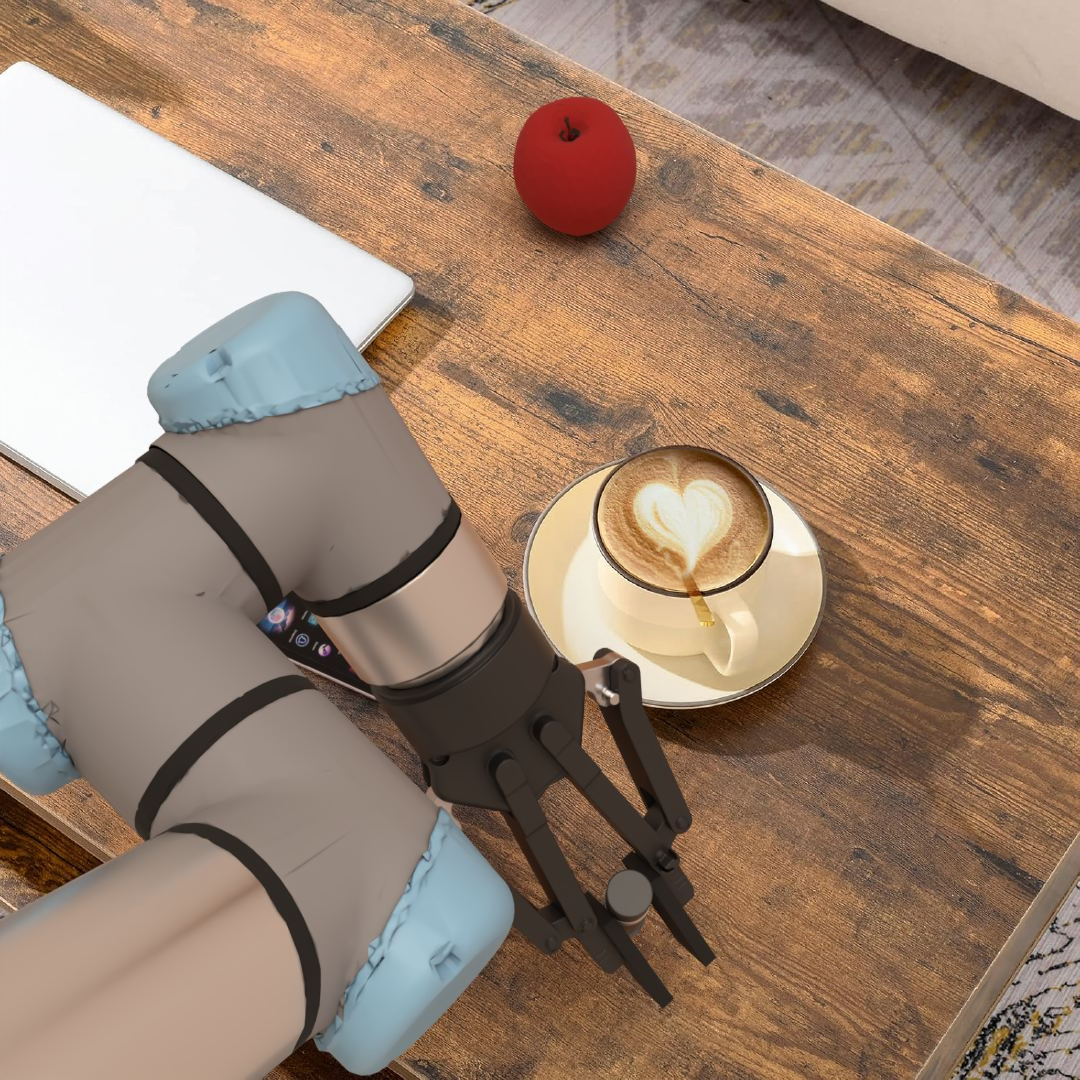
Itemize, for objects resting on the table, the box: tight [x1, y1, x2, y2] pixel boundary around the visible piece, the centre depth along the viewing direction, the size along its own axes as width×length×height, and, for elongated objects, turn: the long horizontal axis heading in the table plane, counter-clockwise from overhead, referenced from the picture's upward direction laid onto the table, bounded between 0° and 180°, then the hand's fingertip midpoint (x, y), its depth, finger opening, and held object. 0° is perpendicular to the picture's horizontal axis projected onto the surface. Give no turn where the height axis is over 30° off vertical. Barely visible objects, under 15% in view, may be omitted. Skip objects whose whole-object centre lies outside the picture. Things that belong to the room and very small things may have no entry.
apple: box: [512, 96, 637, 237], centre depth 83 cm, size 9×9×10 cm
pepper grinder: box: [599, 868, 653, 939], centre depth 59 cm, size 3×3×10 cm
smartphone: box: [256, 590, 377, 701], centre depth 75 cm, size 8×1×15 cm
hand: (675, 968), depth 59 cm, fingers closed on pepper grinder, 2 cm apart
